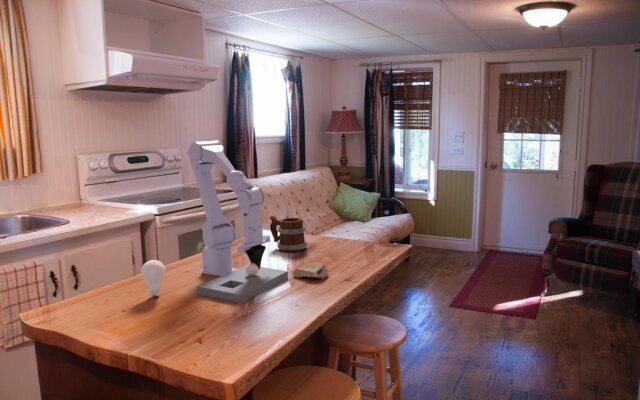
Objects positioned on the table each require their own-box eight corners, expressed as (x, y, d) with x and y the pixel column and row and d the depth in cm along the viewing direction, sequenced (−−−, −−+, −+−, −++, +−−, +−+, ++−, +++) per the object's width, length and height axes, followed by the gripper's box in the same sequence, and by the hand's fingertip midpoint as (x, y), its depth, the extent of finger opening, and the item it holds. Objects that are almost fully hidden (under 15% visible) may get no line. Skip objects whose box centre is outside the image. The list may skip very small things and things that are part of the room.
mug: (302, 254, 190) (294, 214, 189) (268, 257, 196) (261, 219, 194) (314, 246, 201) (306, 209, 200) (282, 249, 207) (275, 213, 205)
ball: (248, 274, 161) (242, 274, 157) (250, 261, 161) (244, 261, 157) (259, 277, 159) (253, 277, 155) (261, 264, 159) (256, 264, 156)
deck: (197, 294, 150) (197, 286, 149) (247, 272, 170) (247, 264, 170) (240, 303, 142) (240, 294, 141) (288, 278, 162) (287, 271, 162)
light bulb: (171, 294, 151) (169, 258, 149) (157, 301, 144) (154, 264, 143) (152, 292, 153) (150, 256, 151) (138, 299, 147) (135, 262, 145)
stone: (316, 283, 158) (316, 269, 157) (291, 278, 164) (290, 264, 163) (332, 276, 164) (332, 263, 164) (307, 271, 171) (307, 258, 170)
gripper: (249, 232, 149) (252, 277, 151) (276, 222, 161) (279, 264, 163) (230, 231, 152) (233, 274, 154) (258, 221, 165) (261, 262, 167)
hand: (256, 269), depth 159 cm, fingers closed, pressing on ball
